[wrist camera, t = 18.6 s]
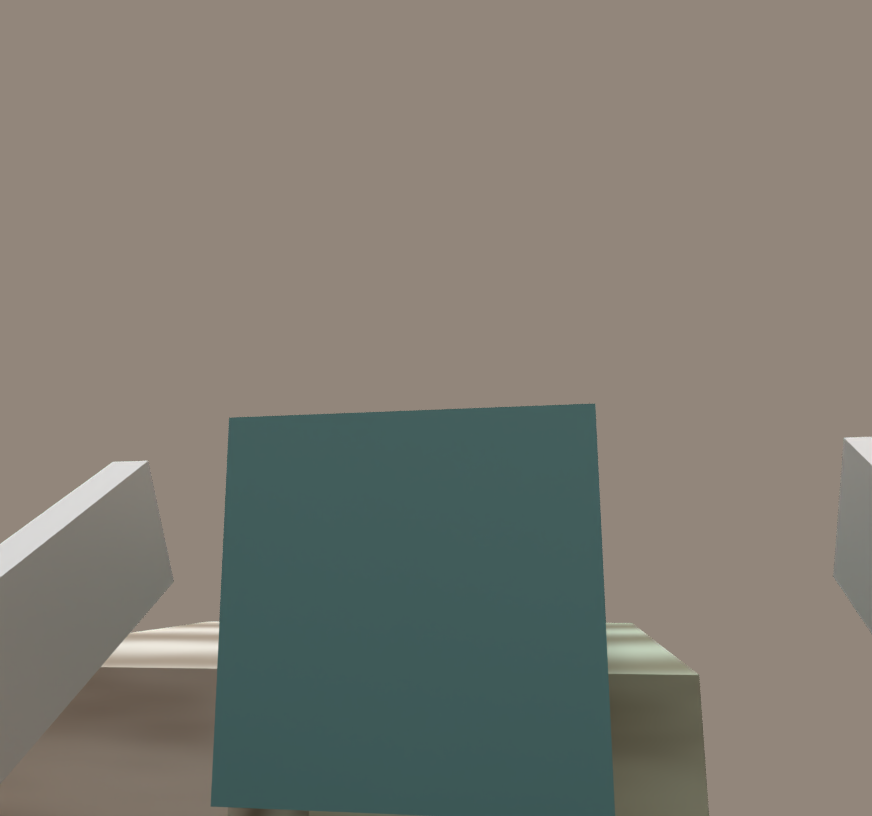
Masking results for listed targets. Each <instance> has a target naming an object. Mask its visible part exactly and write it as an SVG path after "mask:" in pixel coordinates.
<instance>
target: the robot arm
mask: <svg viewBox="0 0 872 816" xmlns="http://www.w3.org/2000/svg"><path fill="white" fill-rule="evenodd" d="M833 577H834V578H835V580H836V581H837V582H838V584H839V586H840V587H841V589H842V590H843V591H844V593H845V595H846V596H847V598H848V599H849V601H850V602H851V604H852V605H853V607H854V608H855V610H856V611H857V613H858V614H859V616H860V617H861V619H862V620H863V621H864V623H865V624H866V626H867V628H868V629H869V631H870V632H871V634H872V437H854V438H844V444H843V457H842V471H841V483H840V496H839V509H838V522H837V536H836V548H835V562H834V576H833ZM173 581H174V580H173V576H172V571H171V566H170V562H169V557H168V552H167V547H166V543H165V538H164V533H163V529H162V524H161V519H160V515H159V510H158V505H157V500H156V496H155V491H154V486H153V482H152V477H151V472H150V467H149V463H148V461H127V462H112V463H111V464H109V465H108V466H107V467H105V468H104V469H103V470H101V471H100V472H98V473H97V474H96V475H94V476H93V477H91V478H90V479H89V480H87V481H86V482H85V483H83V484H82V485H81V486H79V487H78V488H76V489H75V490H74V491H72V492H71V493H69V494H68V495H67V496H65V497H64V498H63V499H61V500H60V501H59V502H57V503H56V504H54V505H53V506H52V507H50V508H49V509H48V510H46V511H45V512H43V513H42V514H41V515H39V516H38V517H37V518H35V519H34V520H32V521H31V522H30V523H28V524H27V525H26V526H24V527H23V528H21V529H20V530H19V531H17V532H16V533H15V534H13V535H12V536H11V537H9V538H8V539H6V540H5V541H4V542H2V543H1V544H0V784H1V783H2V782H3V780H4V779H5V778H6V777H7V776H8V775H9V773H10V772H11V771H12V770H13V769H14V768H15V766H16V765H17V764H18V763H19V762H20V761H21V759H22V758H23V757H24V756H25V755H26V754H27V752H28V751H29V750H30V749H31V748H32V747H33V745H34V744H35V743H36V742H37V741H38V740H39V738H40V737H41V736H42V735H43V734H44V733H45V731H46V730H47V729H48V728H49V727H50V726H51V724H52V723H53V722H54V721H55V720H56V719H57V717H58V716H59V715H60V714H61V713H62V712H63V710H64V709H65V708H66V707H67V706H68V705H69V703H70V702H71V701H72V700H73V699H74V698H75V696H76V695H77V694H78V693H79V692H80V691H81V689H82V688H83V687H84V686H85V685H86V684H87V682H88V681H89V680H90V679H91V678H92V677H93V675H94V674H95V673H96V672H97V671H98V670H99V668H100V667H101V666H102V665H103V664H104V663H105V661H106V660H107V659H108V658H109V657H110V656H111V654H112V653H113V652H114V651H115V650H116V649H117V647H118V646H119V645H120V644H121V643H122V641H123V640H124V639H125V638H126V637H127V636H128V634H129V633H130V632H131V631H132V630H133V628H134V627H135V626H136V625H137V624H138V623H139V622H140V620H141V619H142V618H143V617H144V616H145V615H146V613H147V612H148V611H149V610H150V609H151V608H152V606H153V605H154V604H155V603H156V602H157V601H158V599H159V598H160V597H161V596H162V595H163V594H164V592H165V591H166V590H167V589H168V588H169V587H170V585H171V584H172V583H173Z"/></svg>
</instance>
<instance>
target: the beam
mask: <svg viewBox="0 0 872 816" xmlns="http://www.w3.org/2000/svg"><path fill="white" fill-rule="evenodd" d="M211 807H232V808H256V809H280V810H304V811H327V812H351V813H375V814H398V815H422V816H615V801H614V780H613V760H612V739H611V719H610V698H609V678H608V657H607V637H606V617H605V596H604V576H603V555H602V535H601V513H600V493H599V473H598V453H597V432H596V411H595V404H573V405H547V406H521V407H498V408H497V407H495V408H472V409H471V408H470V409H444V410H418V411H395V412H394V411H393V412H366V413H342V414H317V415H315V414H314V415H288V416H263V417H237V418H229V436H228V455H227V477H226V496H225V518H224V539H223V560H222V580H221V602H220V621H219V642H218V663H217V684H216V704H215V725H214V746H213V767H212V788H211Z"/></svg>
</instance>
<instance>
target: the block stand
mask: <svg viewBox="0 0 872 816" xmlns="http://www.w3.org/2000/svg"><path fill="white" fill-rule="evenodd" d="M606 637H607V657H608V678H609V698H610V719H611V739H612V760H613V780H614V801H615V816H709V808H708V794H707V780H706V768H705V767H706V766H705V753H704V738H703V724H702V710H701V695H700V683H699V675H698V674H697V673H696V672H695V671H693V670H692V669H691V668H689V667H688V666H687V665H685V664H684V663H683V662H682V661H680V660H679V659H678V658H676V657H675V656H674V655H672V654H671V653H670V652H669V651H667V650H666V649H665V648H664V647H662V646H661V645H660V644H658V643H657V642H656V641H654V640H653V639H652V638H651V637H649V636H648V635H647V634H645V633H644V632H643V631H642V630H640V629H639V628H638V627H636V626H635V625H634V624H632V623H606ZM218 642H219V622H203V623H196V624H189V625H182V626H175V627H168V628H161V629H154V630H147V631H140V632H133V633H129V634H128V636H127V637H126V638H125V639H124V640H123V641H122V643H121V644H120V645H119V646H118V647H117V649H116V650H115V651H114V652H113V653H112V654H111V656H110V657H109V658H108V659H107V660H106V661H105V663H104V664H103V665H102V666H101V667H100V668H99V670H98V671H97V672H96V673H95V674H94V675H93V677H92V678H91V679H90V680H89V681H88V682H87V684H86V685H85V686H84V687H83V688H82V689H81V691H80V692H79V693H78V694H77V695H76V696H75V698H74V699H73V700H72V701H71V702H70V703H69V705H68V706H67V707H66V708H65V709H64V710H63V712H62V713H61V714H60V715H59V716H58V717H57V719H56V720H55V721H54V722H53V723H52V724H51V726H50V727H49V728H48V729H47V730H46V731H45V733H44V734H43V735H42V736H41V737H40V738H39V740H38V741H37V742H36V743H35V744H34V745H33V747H32V748H31V749H30V750H29V751H28V752H27V754H26V755H25V756H24V757H23V758H22V759H21V761H20V762H19V763H18V764H17V765H16V766H15V768H14V769H13V770H12V771H11V772H10V773H9V775H8V776H7V777H6V778H5V779H4V780H3V782H2V783H1V784H0V816H422V815H398V814H375V813H351V812H327V811H304V810H280V809H256V808H232V807H211V788H212V767H213V746H214V725H215V704H216V684H217V663H218Z"/></svg>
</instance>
